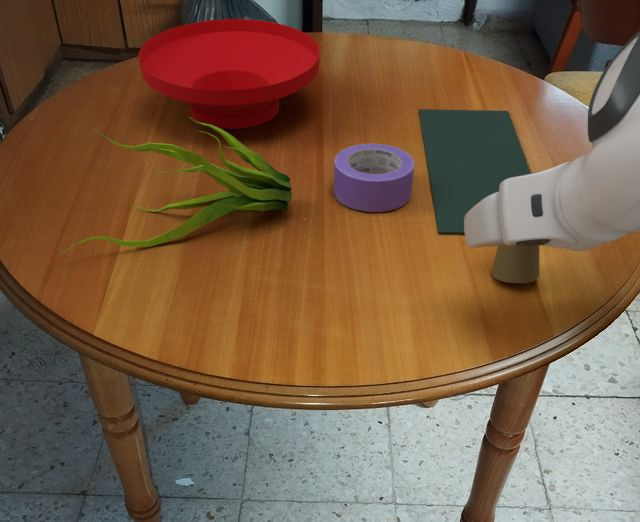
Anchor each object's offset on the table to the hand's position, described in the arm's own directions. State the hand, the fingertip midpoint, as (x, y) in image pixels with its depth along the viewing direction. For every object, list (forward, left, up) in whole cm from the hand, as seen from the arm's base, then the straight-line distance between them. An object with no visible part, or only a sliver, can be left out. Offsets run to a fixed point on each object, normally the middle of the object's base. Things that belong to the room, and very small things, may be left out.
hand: (529, 236), depth 82 cm
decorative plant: (+44, -10, -7) cm, 46 cm away
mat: (+1, -31, -7) cm, 32 cm away
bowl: (+42, -50, -7) cm, 66 cm away
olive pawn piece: (0, -1, -6) cm, 7 cm away
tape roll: (+18, -22, -7) cm, 29 cm away
